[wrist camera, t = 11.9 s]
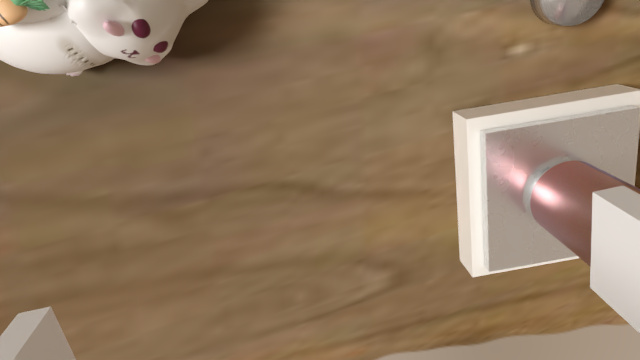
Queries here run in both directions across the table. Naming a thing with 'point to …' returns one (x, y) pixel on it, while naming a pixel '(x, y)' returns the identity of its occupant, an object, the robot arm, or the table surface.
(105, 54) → the cat figurine
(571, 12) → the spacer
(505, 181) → the pan
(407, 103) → the table surface
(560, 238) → the beverage can
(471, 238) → the base
